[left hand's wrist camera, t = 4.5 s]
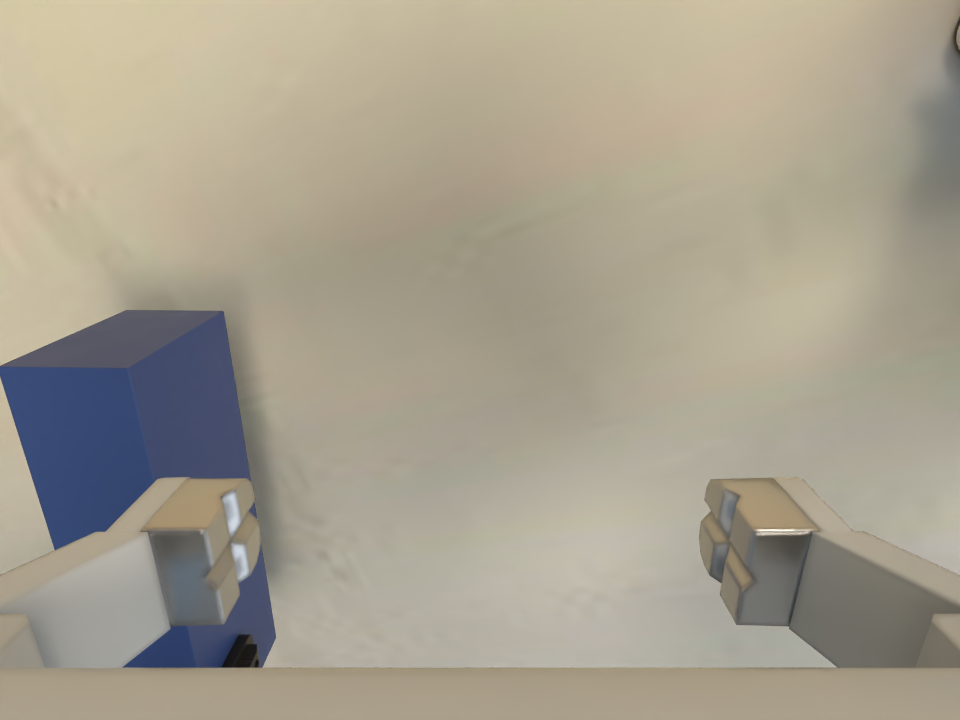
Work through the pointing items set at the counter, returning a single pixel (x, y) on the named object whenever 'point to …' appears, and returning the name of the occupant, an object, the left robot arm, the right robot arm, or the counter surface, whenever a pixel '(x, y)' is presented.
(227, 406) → the block
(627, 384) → the counter surface
